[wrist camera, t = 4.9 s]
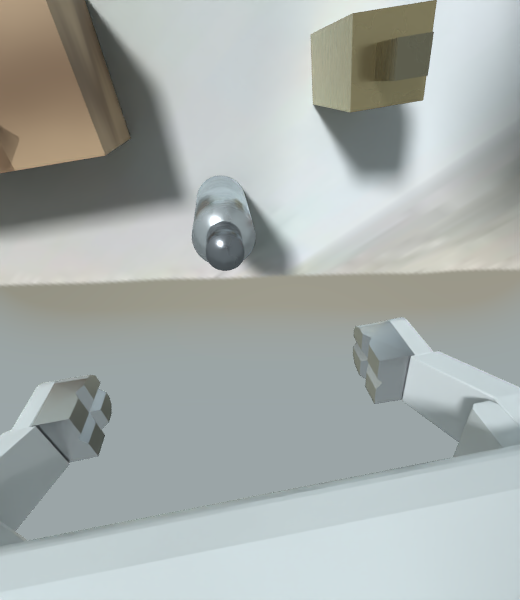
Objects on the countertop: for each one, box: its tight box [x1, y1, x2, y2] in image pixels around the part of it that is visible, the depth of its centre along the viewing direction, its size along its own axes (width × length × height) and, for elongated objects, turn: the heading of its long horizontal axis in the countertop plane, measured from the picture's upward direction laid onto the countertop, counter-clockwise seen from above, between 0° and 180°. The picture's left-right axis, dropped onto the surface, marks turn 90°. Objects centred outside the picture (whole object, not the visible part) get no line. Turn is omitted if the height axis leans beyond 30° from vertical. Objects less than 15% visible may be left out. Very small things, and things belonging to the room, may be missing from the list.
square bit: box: [311, 0, 437, 112], centre depth 16 cm, size 4×4×9 cm
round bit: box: [192, 176, 256, 271], centre depth 20 cm, size 4×4×9 cm
